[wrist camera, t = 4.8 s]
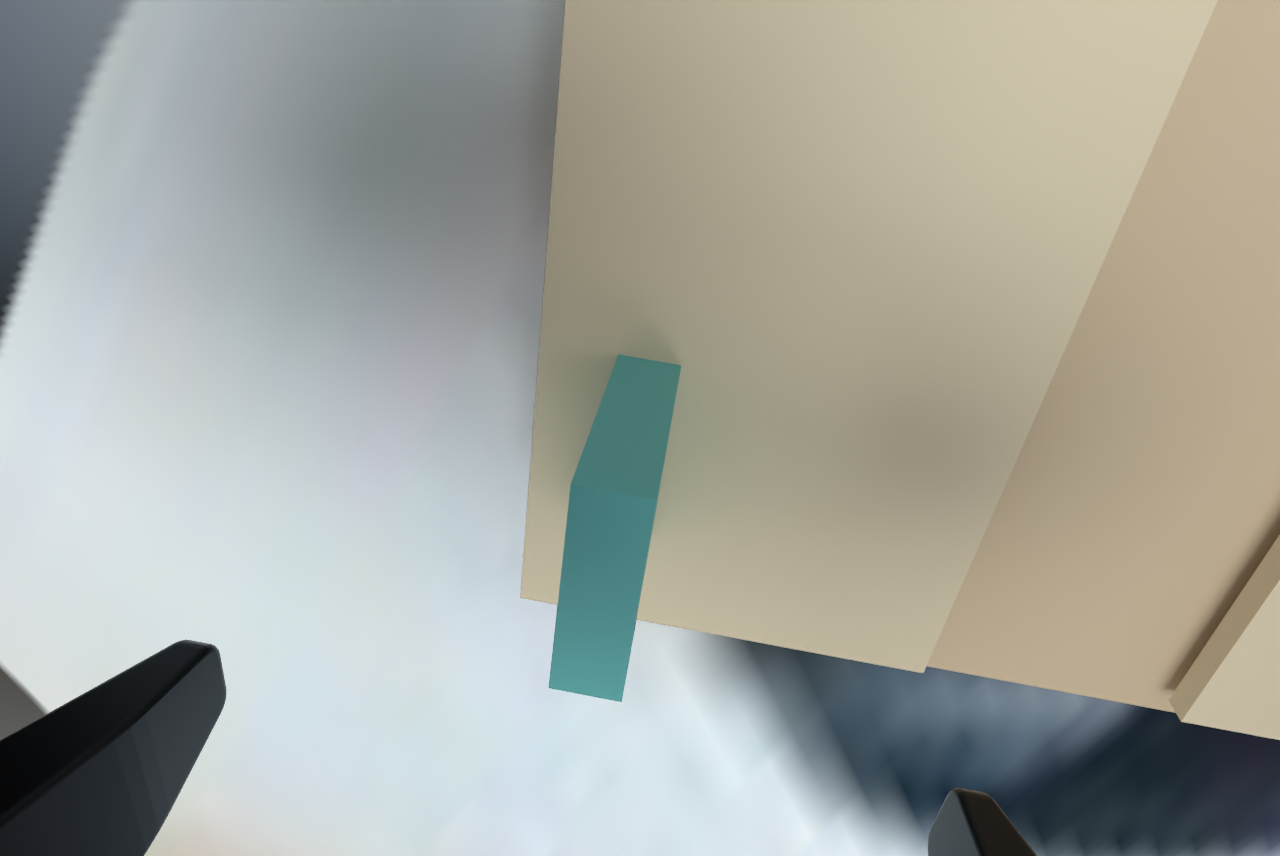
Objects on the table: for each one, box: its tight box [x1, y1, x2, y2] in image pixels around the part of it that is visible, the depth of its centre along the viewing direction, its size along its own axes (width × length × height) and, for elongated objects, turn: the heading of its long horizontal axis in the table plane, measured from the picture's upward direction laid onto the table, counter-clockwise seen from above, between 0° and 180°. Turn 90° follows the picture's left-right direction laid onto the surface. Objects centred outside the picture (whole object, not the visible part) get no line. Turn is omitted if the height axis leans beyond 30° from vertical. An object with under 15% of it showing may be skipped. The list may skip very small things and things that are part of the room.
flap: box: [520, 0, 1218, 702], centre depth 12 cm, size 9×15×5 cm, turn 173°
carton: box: [927, 0, 1280, 713], centre depth 16 cm, size 20×16×4 cm
